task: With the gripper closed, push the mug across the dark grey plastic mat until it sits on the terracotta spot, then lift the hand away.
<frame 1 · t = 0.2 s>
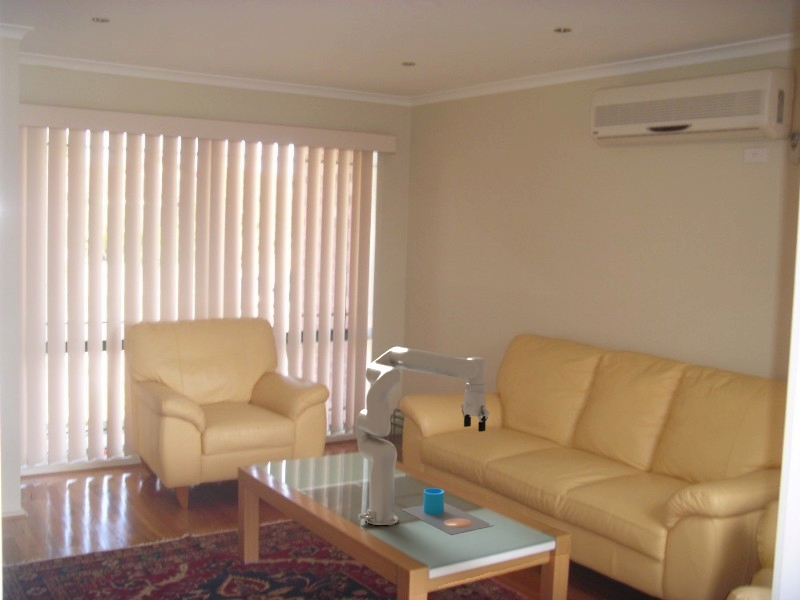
hand: (474, 428, 350), 31 cm above the table, tool pointing down, fingers open, 9 cm apart
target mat: (446, 517, 334), on the table
mug: (431, 510, 342), resting on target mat
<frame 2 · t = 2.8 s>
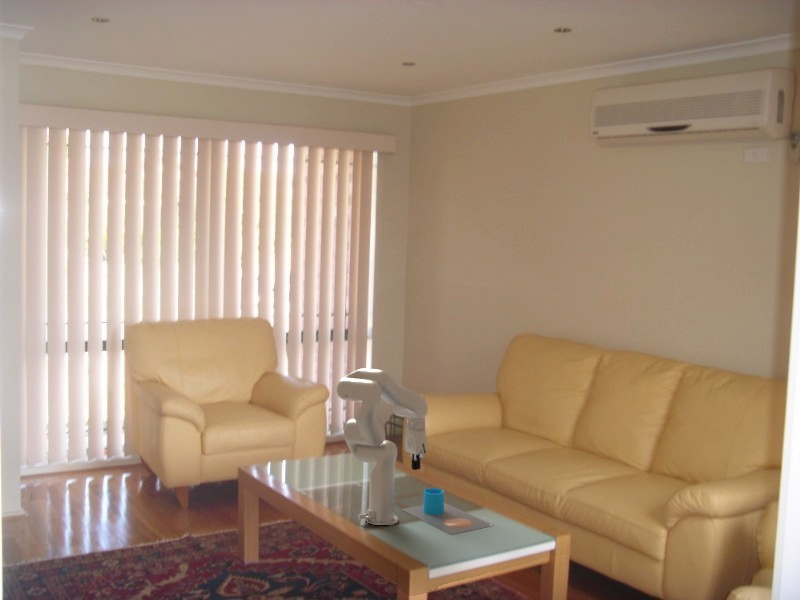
hand: (415, 468, 352), 14 cm above the table, tool pointing down, fingers closed
nothing on the table moved.
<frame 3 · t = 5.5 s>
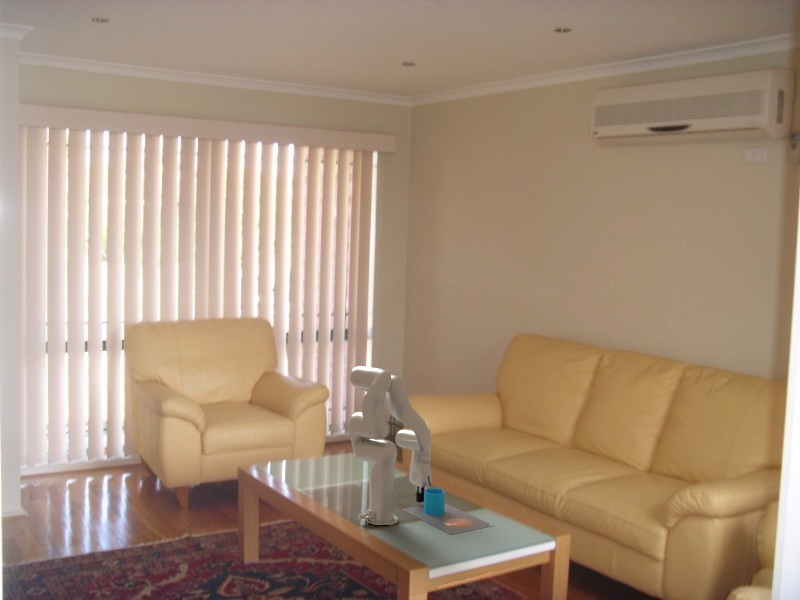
hand: (420, 501, 349), 1 cm above the table, tool pointing down, fingers closed
mug: (432, 510, 342), resting on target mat, touching gripper
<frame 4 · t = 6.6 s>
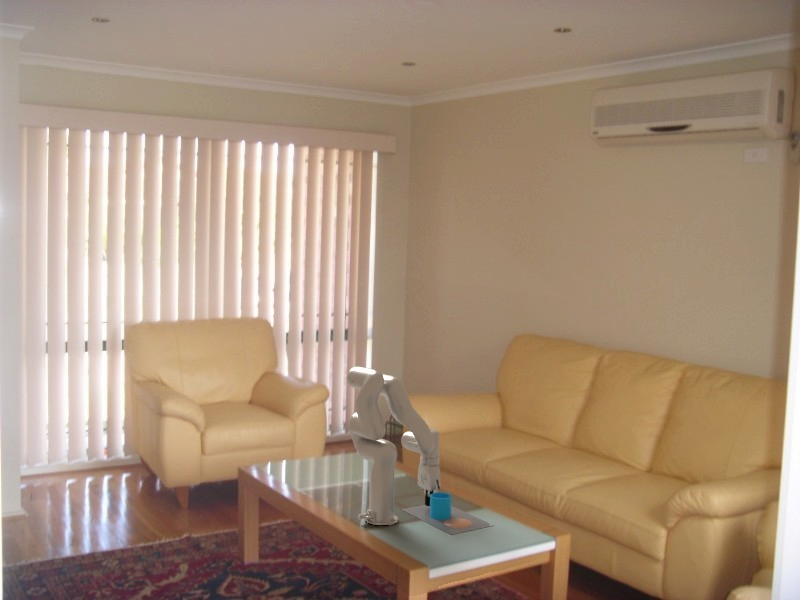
hand: (429, 505, 344), 1 cm above the table, tool pointing down, fingers closed
mug: (438, 515, 337), resting on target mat, touching gripper
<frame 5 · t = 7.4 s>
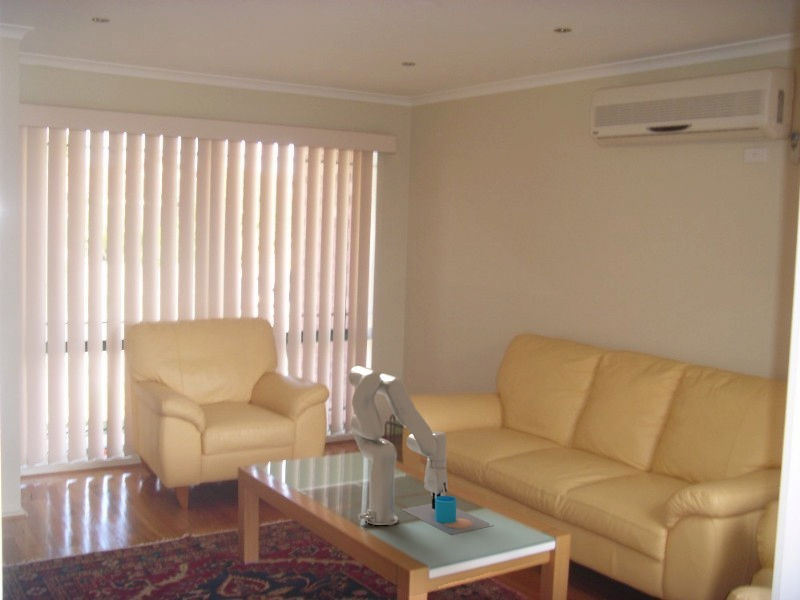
hand: (436, 508, 340), 2 cm above the table, tool pointing down, fingers closed
mug: (444, 518, 333), resting on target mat, touching gripper
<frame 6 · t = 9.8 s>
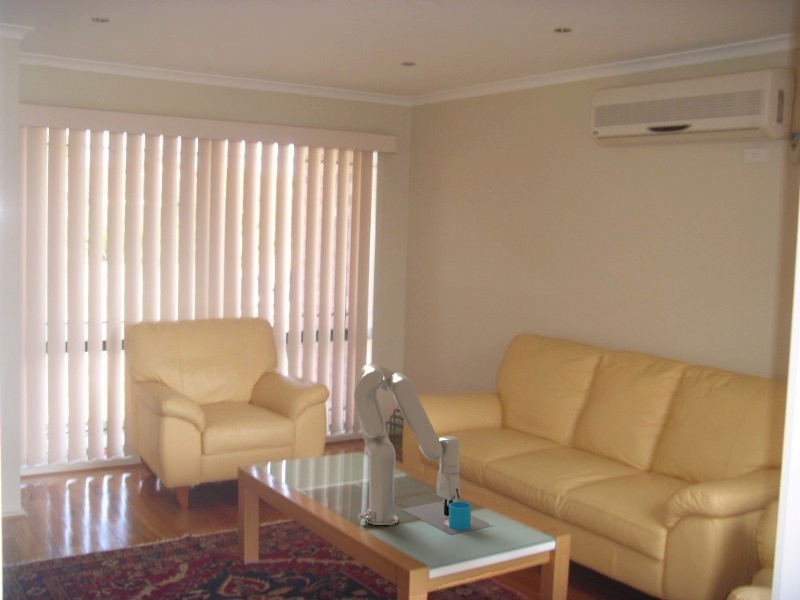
hand: (448, 514, 333), 1 cm above the table, tool pointing down, fingers closed
mug: (458, 525, 325), resting on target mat, touching gripper
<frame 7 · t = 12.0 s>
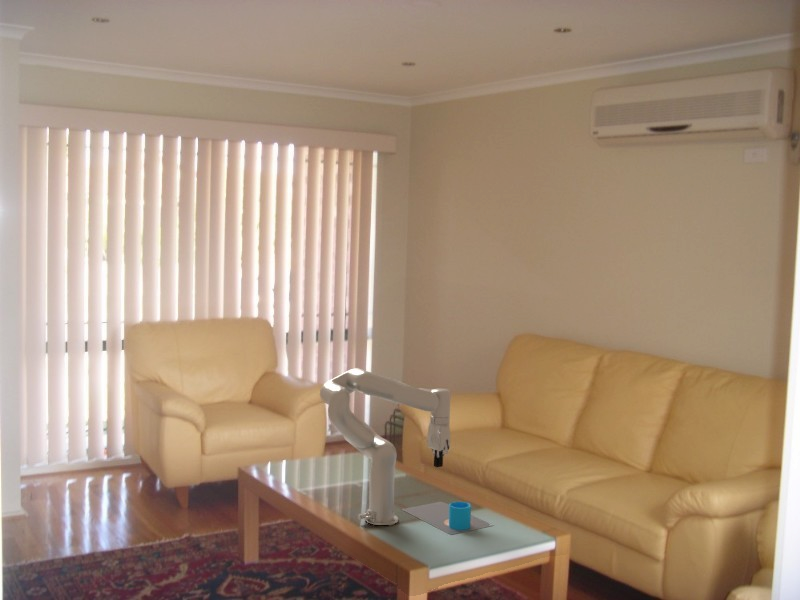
hand: (438, 466, 336), 19 cm above the table, tool pointing down, fingers closed
mug: (458, 525, 325), resting on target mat
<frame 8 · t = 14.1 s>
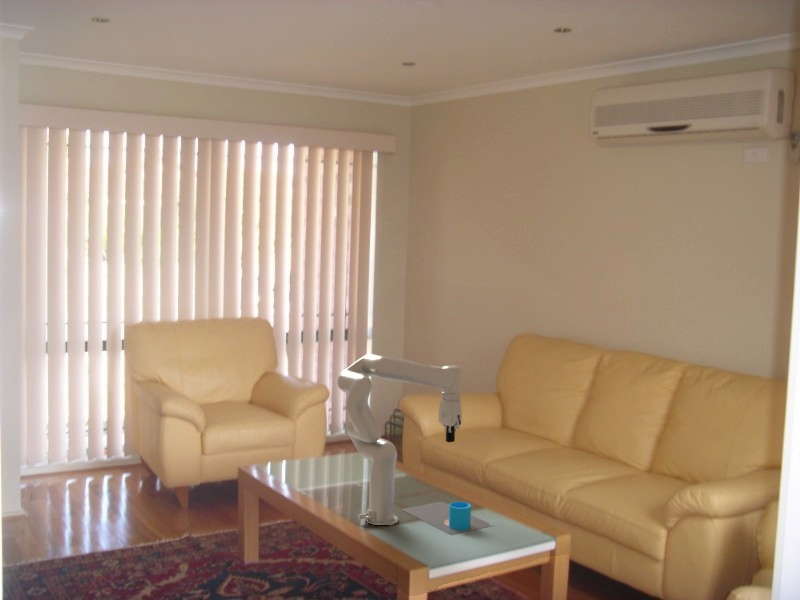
hand: (450, 441, 344), 27 cm above the table, tool pointing down, fingers closed
nothing on the table moved.
at the end: mug inside the target area (1.9 cm from its centre), resting on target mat; mug tilted 0°; the gripper is holding nothing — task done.
